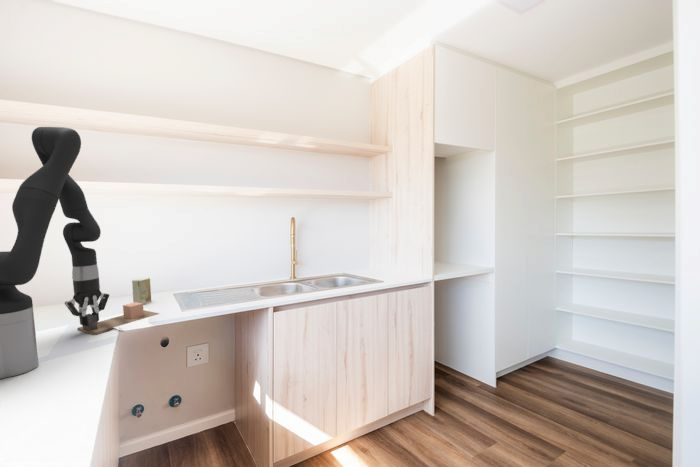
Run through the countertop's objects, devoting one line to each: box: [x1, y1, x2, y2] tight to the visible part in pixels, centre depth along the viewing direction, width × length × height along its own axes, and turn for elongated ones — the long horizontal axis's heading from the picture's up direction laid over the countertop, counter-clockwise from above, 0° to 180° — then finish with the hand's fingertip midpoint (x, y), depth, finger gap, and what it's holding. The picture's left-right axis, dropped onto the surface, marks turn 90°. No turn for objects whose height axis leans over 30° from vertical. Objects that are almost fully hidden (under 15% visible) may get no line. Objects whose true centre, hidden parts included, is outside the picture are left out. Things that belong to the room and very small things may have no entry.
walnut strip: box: [77, 309, 160, 336], centre depth 136 cm, size 24×12×6 cm, turn 151°
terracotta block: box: [122, 302, 144, 319], centre depth 140 cm, size 5×5×5 cm
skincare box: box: [131, 277, 152, 306], centre depth 159 cm, size 6×4×12 cm
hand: (90, 324), depth 126 cm, fingers open, 3 cm apart
